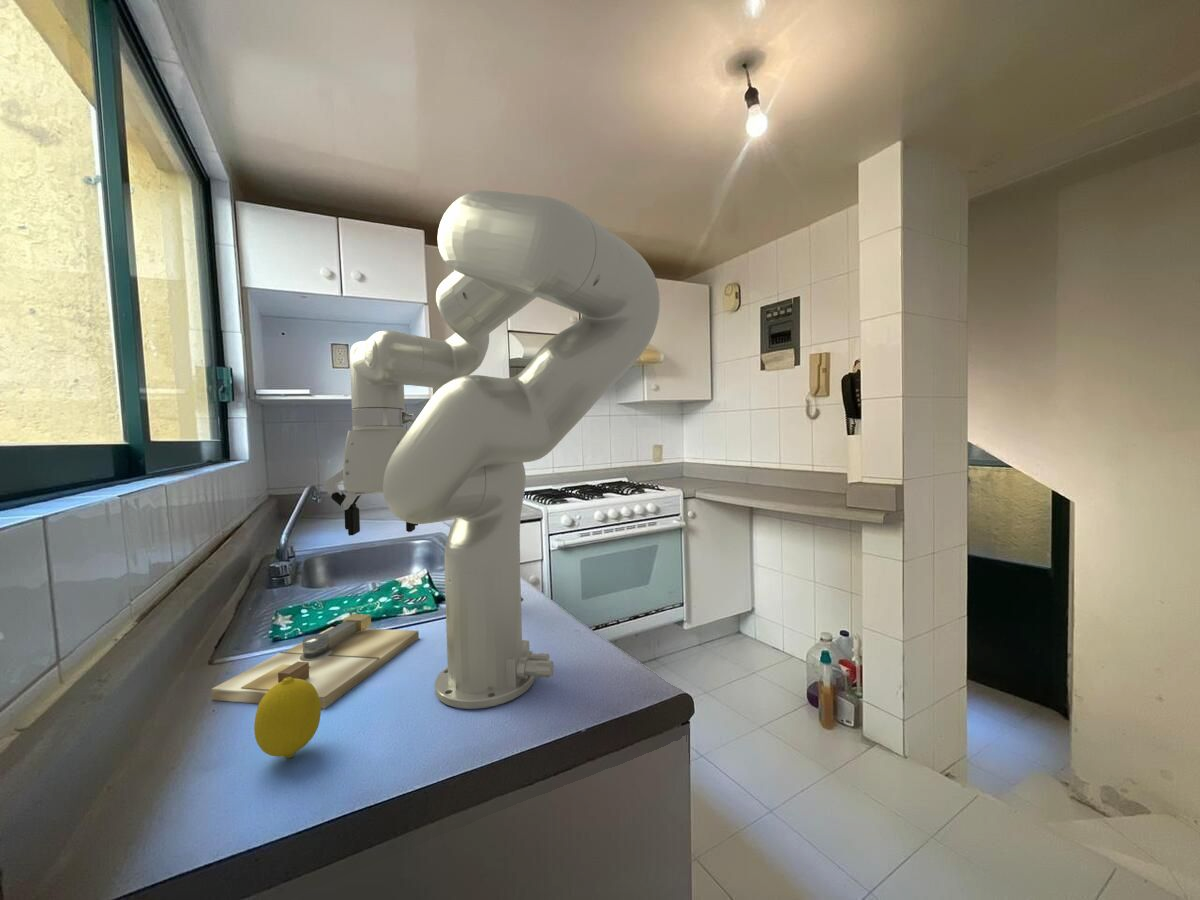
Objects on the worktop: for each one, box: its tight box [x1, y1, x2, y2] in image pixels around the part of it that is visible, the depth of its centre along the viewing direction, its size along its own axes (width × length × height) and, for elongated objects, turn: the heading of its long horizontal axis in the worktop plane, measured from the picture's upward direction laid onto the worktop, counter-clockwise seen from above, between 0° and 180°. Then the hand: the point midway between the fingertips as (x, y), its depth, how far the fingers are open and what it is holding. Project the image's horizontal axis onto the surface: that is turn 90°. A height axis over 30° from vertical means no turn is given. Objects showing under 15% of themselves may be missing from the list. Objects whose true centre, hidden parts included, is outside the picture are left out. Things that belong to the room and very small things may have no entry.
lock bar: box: [302, 613, 372, 657], centre depth 70 cm, size 11×3×2 cm, turn 170°
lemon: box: [253, 677, 322, 759], centre depth 46 cm, size 6×6×8 cm
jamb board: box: [211, 626, 420, 710], centre depth 65 cm, size 16×20×3 cm
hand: (382, 531), depth 72 cm, fingers open, 7 cm apart
